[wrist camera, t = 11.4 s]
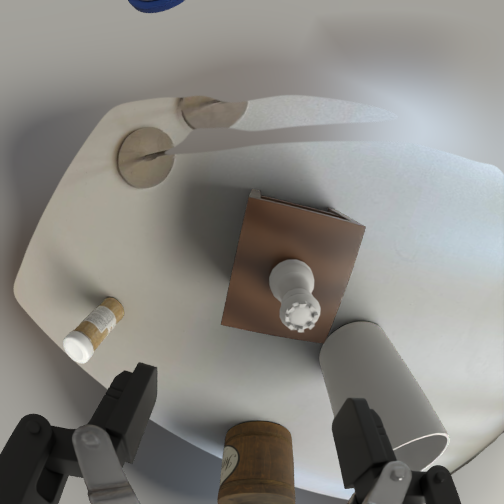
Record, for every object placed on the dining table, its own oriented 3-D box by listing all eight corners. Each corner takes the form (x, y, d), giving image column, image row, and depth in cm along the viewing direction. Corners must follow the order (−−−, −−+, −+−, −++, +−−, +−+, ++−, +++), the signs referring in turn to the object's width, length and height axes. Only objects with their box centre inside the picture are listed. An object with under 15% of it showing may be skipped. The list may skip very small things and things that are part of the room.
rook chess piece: (265, 295, 29) (266, 339, 21) (273, 254, 27) (278, 287, 20) (307, 301, 29) (321, 345, 21) (317, 261, 27) (337, 296, 20)
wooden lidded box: (251, 188, 37) (248, 196, 26) (335, 209, 38) (366, 226, 26) (230, 282, 41) (220, 324, 30) (308, 299, 42) (324, 343, 30)
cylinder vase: (337, 385, 47) (369, 496, 23) (305, 345, 44) (333, 476, 20) (393, 351, 45) (452, 451, 21) (369, 305, 42) (444, 417, 18)
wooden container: (218, 422, 51) (204, 509, 30) (288, 416, 50) (296, 508, 29) (233, 455, 55) (226, 529, 34) (293, 451, 54) (299, 526, 33)
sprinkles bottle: (116, 324, 44) (79, 369, 31) (98, 305, 43) (57, 346, 31) (129, 311, 43) (92, 356, 31) (111, 291, 42) (69, 332, 30)
